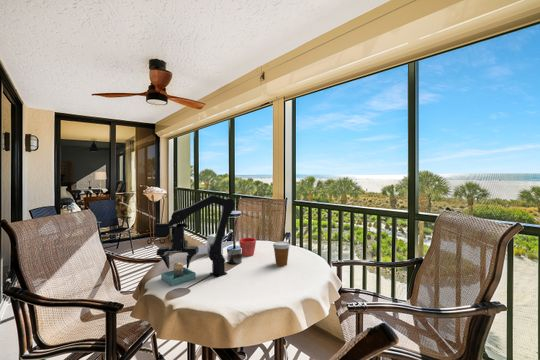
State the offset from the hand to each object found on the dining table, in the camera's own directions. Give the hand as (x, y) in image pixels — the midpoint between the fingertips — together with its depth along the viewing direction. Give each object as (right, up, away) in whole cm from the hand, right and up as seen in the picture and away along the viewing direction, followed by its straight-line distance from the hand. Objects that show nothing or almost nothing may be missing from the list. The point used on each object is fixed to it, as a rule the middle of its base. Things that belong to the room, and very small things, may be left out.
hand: (178, 268), depth 121 cm
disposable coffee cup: (+51, -5, +20) cm, 55 cm away
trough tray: (0, -5, 0) cm, 5 cm away
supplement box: (+9, -5, +40) cm, 41 cm away
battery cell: (0, -5, 0) cm, 5 cm away
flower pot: (+30, -5, +39) cm, 50 cm away
